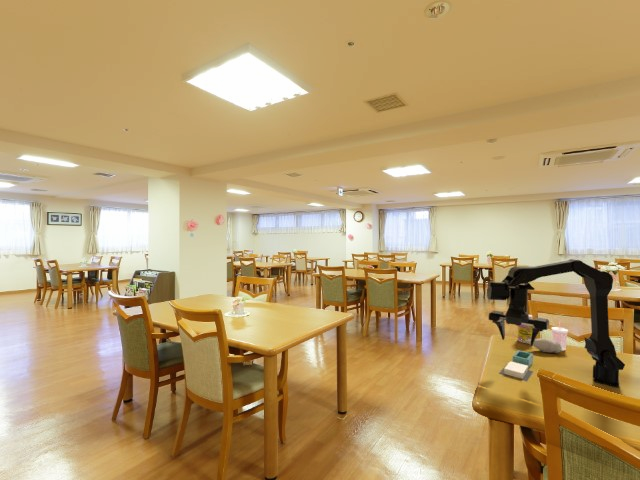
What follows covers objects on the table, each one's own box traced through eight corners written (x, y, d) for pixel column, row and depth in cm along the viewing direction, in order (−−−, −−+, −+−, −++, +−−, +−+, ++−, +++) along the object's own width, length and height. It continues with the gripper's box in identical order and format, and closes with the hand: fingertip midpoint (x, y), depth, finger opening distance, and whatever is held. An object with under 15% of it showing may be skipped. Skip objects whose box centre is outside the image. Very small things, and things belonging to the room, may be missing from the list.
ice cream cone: (520, 349, 147) (558, 357, 143) (526, 344, 142) (565, 353, 138) (519, 336, 150) (556, 344, 147) (525, 331, 145) (563, 339, 142)
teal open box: (532, 363, 131) (533, 353, 131) (528, 370, 125) (528, 359, 125) (517, 359, 135) (517, 350, 135) (512, 365, 129) (512, 356, 129)
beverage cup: (553, 350, 146) (554, 319, 146) (548, 345, 152) (549, 315, 151) (569, 351, 144) (571, 320, 144) (564, 346, 150) (565, 316, 150)
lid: (528, 370, 123) (528, 365, 123) (522, 378, 117) (522, 373, 117) (510, 366, 127) (510, 361, 127) (504, 373, 121) (504, 368, 121)
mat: (533, 372, 123) (533, 371, 123) (527, 382, 115) (527, 381, 115) (506, 365, 129) (506, 364, 129) (498, 374, 121) (498, 373, 121)
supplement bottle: (516, 341, 157) (516, 315, 157) (519, 338, 162) (520, 312, 161) (532, 345, 152) (533, 317, 152) (535, 341, 157) (536, 315, 157)
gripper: (484, 300, 122) (483, 341, 122) (544, 309, 109) (543, 355, 110) (493, 296, 130) (492, 334, 130) (550, 303, 117) (548, 346, 118)
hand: (517, 342), depth 122 cm, fingers open, 9 cm apart
